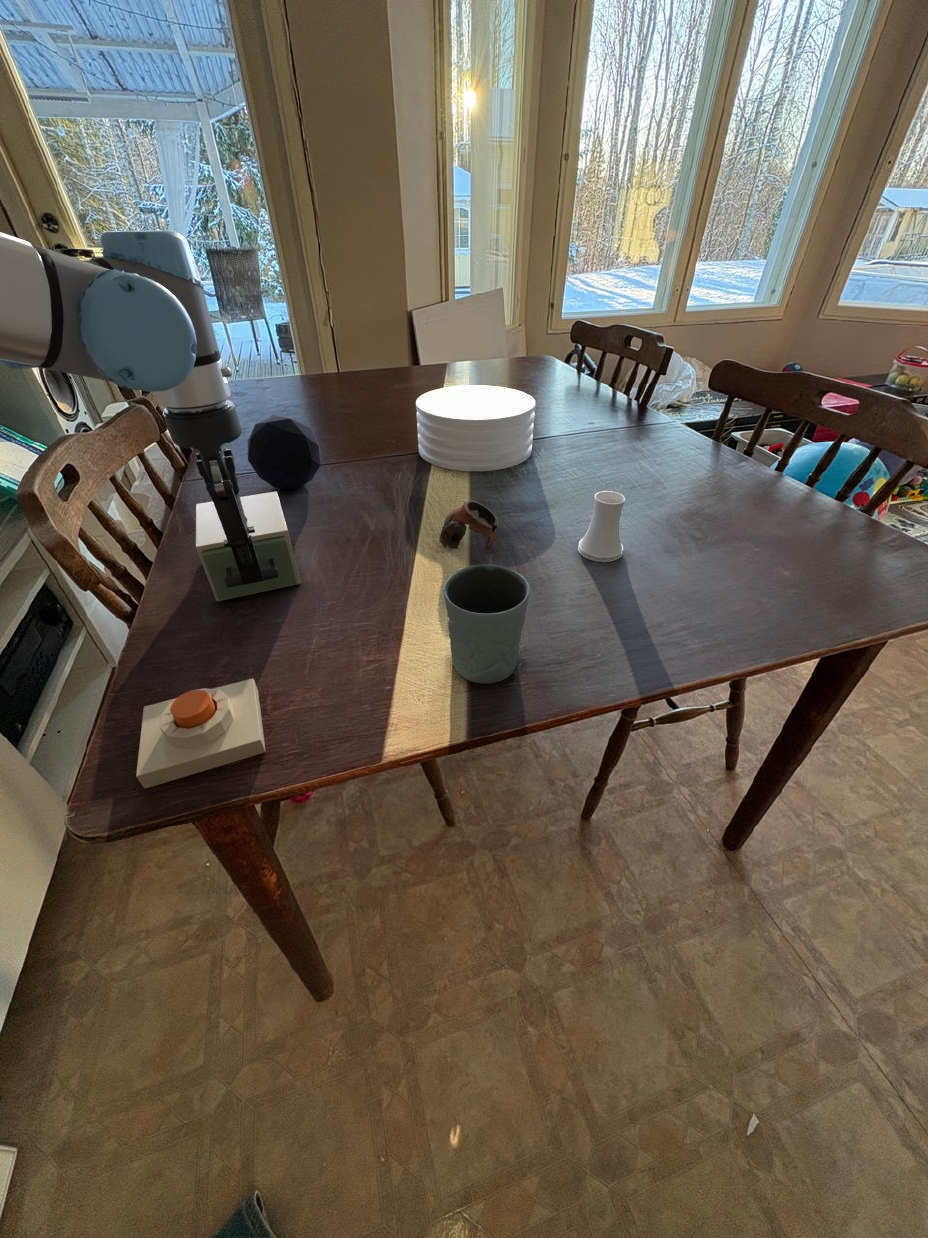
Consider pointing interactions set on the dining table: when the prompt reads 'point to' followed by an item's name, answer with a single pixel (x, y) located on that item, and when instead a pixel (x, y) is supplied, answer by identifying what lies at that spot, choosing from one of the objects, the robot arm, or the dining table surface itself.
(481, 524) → the brown curved piece
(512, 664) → the green cup
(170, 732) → the control block
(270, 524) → the white drawer cabinet
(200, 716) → the button
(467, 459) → the plate stack
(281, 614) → the dining table surface
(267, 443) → the decorative orb
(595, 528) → the vase
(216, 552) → the green drawer
